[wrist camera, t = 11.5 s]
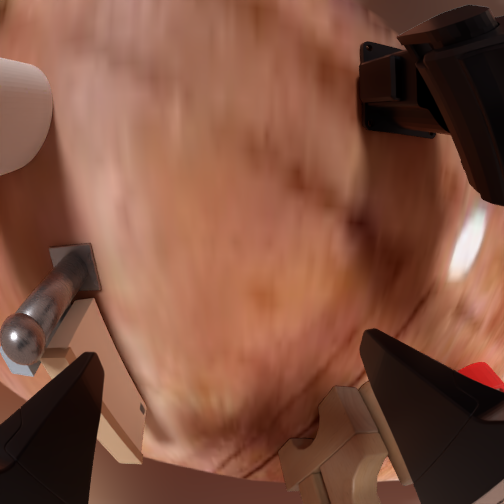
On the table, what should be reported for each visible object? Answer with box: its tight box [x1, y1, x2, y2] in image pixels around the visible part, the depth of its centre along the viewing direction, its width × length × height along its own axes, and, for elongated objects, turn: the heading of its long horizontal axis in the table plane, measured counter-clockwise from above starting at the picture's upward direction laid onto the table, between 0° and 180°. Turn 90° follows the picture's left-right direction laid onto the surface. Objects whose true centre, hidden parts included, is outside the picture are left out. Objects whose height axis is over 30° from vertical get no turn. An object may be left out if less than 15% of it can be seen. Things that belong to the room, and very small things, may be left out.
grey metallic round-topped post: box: [0, 243, 101, 365], centre depth 15 cm, size 4×4×10 cm
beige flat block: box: [40, 298, 147, 464], centre depth 20 cm, size 13×2×7 cm, turn 8°
